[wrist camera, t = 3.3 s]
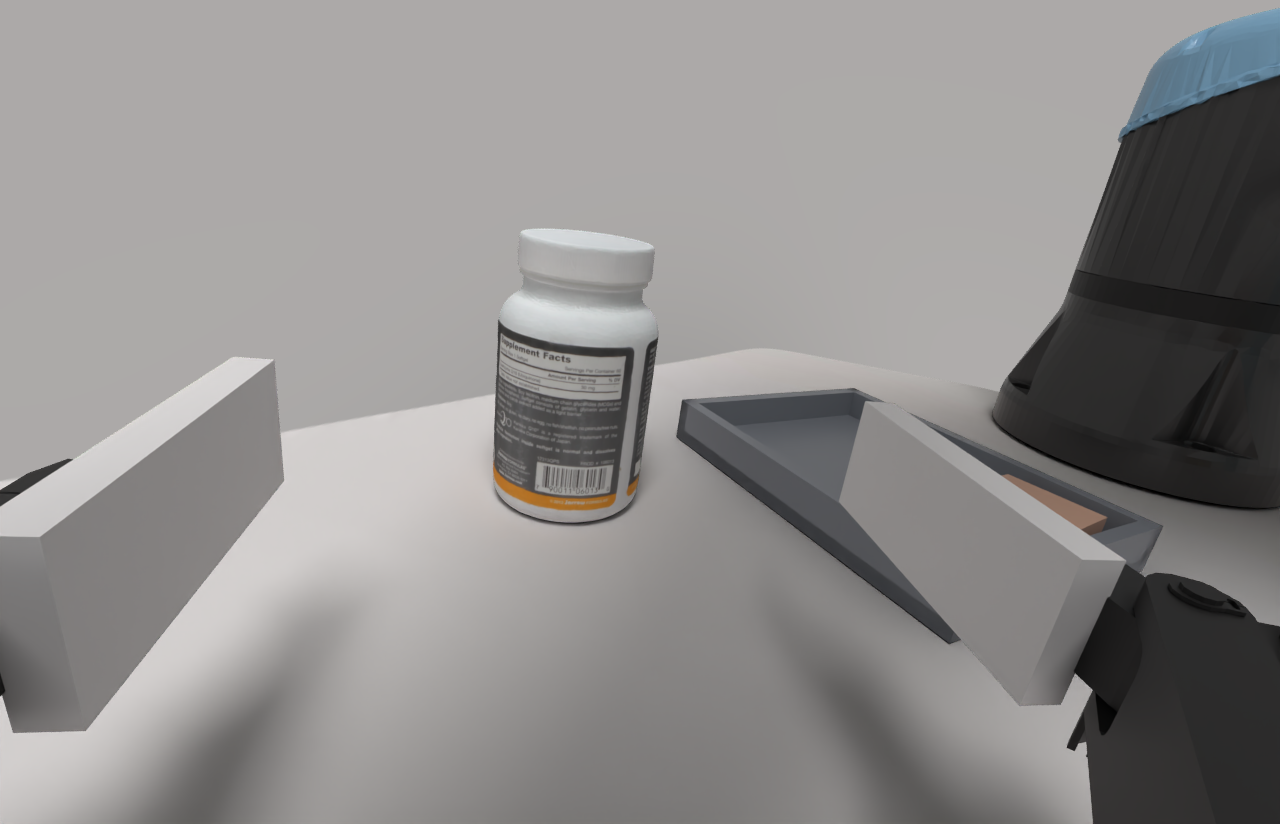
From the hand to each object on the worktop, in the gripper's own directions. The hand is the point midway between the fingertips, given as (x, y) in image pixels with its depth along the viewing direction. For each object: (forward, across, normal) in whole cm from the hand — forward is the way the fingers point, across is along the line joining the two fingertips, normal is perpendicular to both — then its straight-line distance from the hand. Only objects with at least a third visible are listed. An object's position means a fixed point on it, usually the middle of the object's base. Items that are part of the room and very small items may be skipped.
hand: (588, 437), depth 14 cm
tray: (+10, +15, -6) cm, 19 cm away
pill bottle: (+10, 0, -7) cm, 12 cm away
